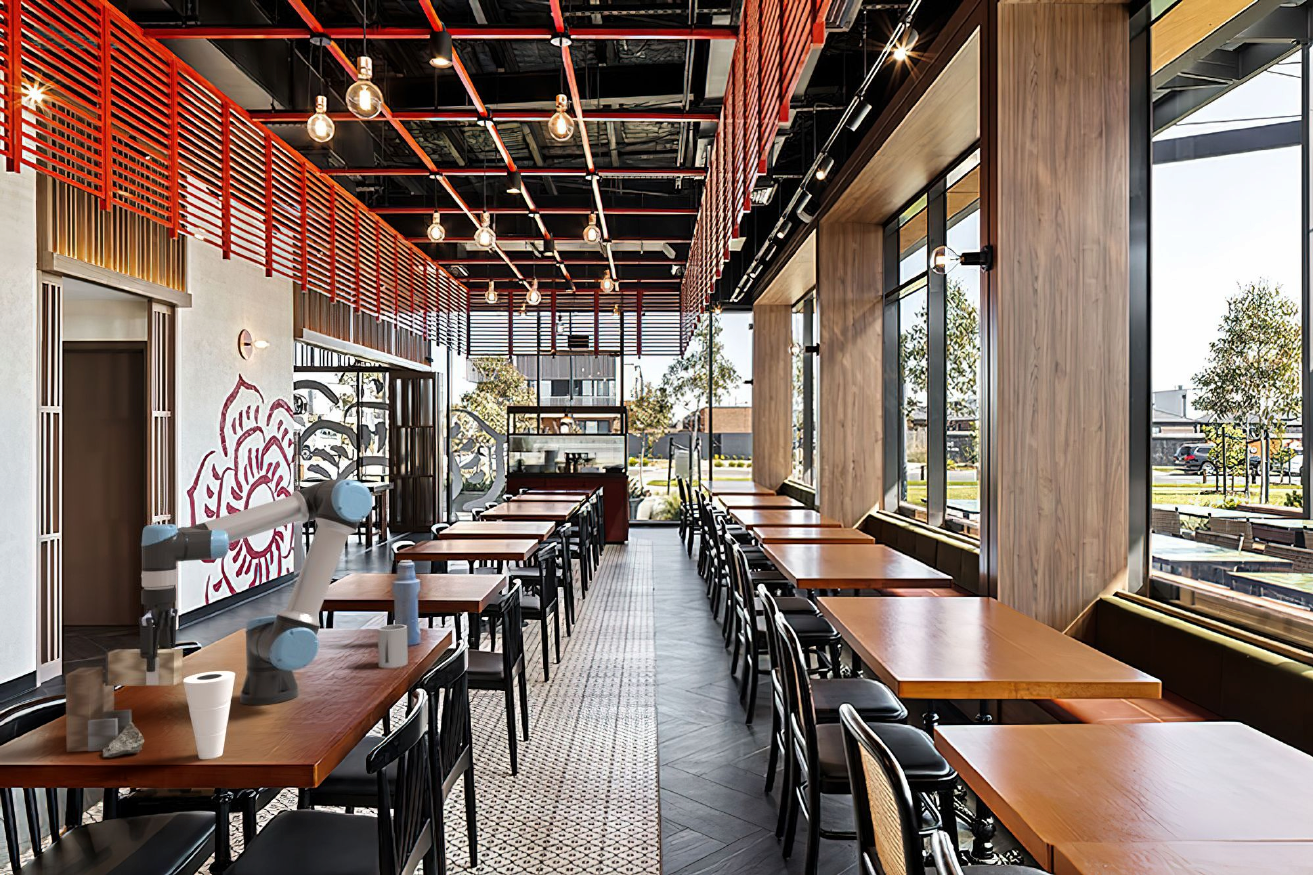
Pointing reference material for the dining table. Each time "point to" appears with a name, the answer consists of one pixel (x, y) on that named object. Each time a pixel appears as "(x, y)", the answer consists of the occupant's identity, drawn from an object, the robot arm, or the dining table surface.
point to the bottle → (407, 600)
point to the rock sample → (125, 742)
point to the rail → (142, 667)
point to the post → (91, 711)
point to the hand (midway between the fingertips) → (157, 681)
